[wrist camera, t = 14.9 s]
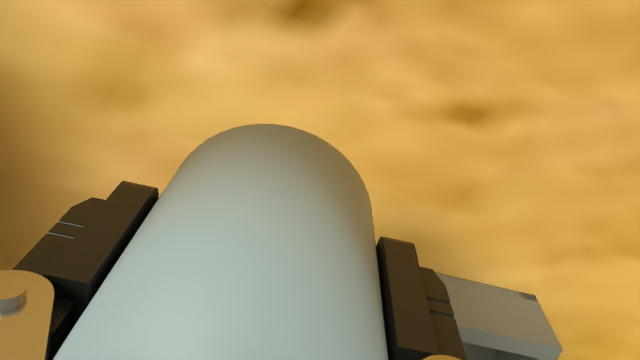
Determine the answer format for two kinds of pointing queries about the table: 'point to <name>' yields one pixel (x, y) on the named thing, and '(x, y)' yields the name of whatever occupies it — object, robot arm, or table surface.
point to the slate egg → (245, 261)
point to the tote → (500, 322)
